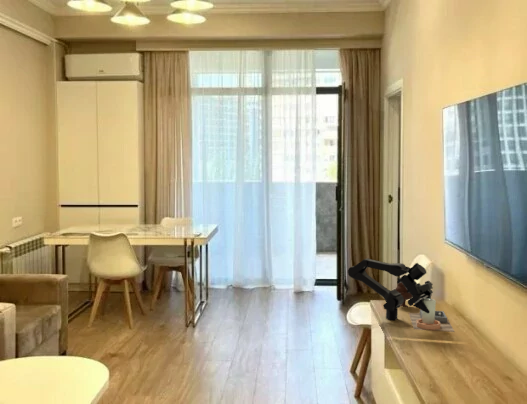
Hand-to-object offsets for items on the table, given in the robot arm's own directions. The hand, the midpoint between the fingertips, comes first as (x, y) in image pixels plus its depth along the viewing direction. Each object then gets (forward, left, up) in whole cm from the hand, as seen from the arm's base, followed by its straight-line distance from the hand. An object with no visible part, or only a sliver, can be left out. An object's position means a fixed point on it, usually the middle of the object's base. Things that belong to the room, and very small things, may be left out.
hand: (431, 311), depth 290 cm
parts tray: (-14, +3, -7) cm, 16 cm away
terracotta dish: (-1, -1, -7) cm, 8 cm away
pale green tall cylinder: (-1, -1, -6) cm, 6 cm away
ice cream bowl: (-37, -10, -9) cm, 39 cm away
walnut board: (-8, +1, -8) cm, 12 cm away
